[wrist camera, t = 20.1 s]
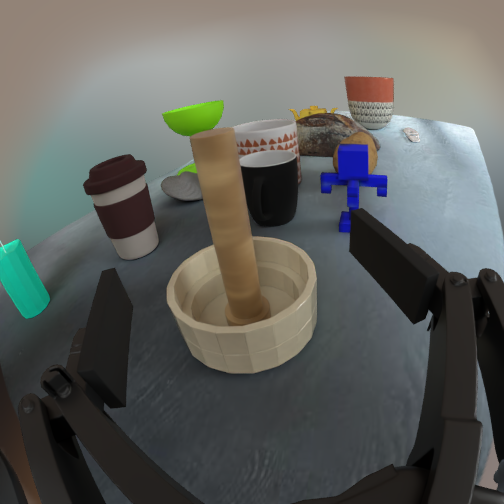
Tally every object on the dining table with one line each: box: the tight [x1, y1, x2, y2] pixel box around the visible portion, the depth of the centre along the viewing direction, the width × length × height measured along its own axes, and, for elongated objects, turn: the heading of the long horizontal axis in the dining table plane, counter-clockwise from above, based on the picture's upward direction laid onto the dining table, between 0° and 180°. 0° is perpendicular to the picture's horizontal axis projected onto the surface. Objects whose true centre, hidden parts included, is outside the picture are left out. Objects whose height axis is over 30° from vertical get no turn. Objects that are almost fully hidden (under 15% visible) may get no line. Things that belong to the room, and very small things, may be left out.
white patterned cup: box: [231, 119, 301, 184], centre depth 59 cm, size 14×14×13 cm
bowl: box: [167, 236, 317, 373], centre depth 28 cm, size 13×13×6 cm
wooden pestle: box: [190, 128, 271, 326], centre depth 24 cm, size 4×4×18 cm
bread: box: [295, 113, 380, 157], centre depth 82 cm, size 27×32×10 cm
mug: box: [239, 150, 298, 226], centre depth 44 cm, size 12×9×10 cm
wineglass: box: [162, 100, 224, 175], centre depth 73 cm, size 16×16×18 cm
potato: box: [333, 132, 378, 174], centre depth 56 cm, size 9×16×9 cm, turn 145°
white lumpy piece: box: [403, 127, 420, 142], centre depth 92 cm, size 6×28×1 cm, turn 157°
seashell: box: [161, 171, 203, 201], centre depth 61 cm, size 12×6×10 cm
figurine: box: [320, 144, 387, 232], centre depth 39 cm, size 8×8×12 cm
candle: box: [0, 239, 50, 319], centre depth 33 cm, size 6×6×12 cm
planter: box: [344, 77, 394, 129], centre depth 98 cm, size 20×20×21 cm
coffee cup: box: [83, 154, 159, 260], centre depth 42 cm, size 10×10×15 cm
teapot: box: [290, 106, 337, 121], centre depth 107 cm, size 15×14×10 cm
